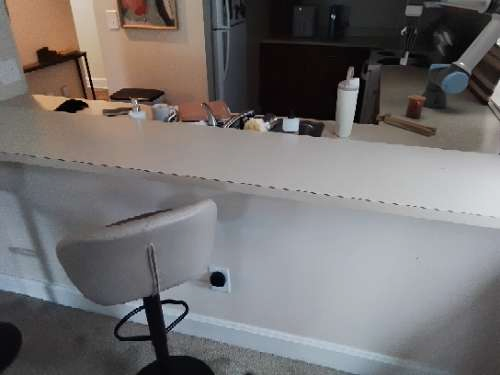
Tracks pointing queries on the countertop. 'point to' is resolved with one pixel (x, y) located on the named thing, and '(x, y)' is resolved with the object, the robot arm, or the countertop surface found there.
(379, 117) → the wooden kitchen tongs
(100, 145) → the countertop surface
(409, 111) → the mug
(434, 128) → the tongs jaw
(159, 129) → the countertop surface
